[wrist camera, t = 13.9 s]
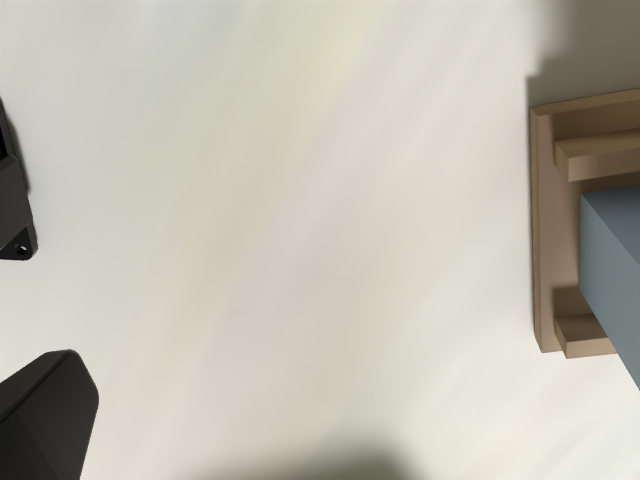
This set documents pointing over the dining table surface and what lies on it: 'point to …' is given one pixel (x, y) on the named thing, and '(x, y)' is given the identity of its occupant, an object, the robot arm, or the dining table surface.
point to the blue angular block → (613, 267)
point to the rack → (575, 206)
